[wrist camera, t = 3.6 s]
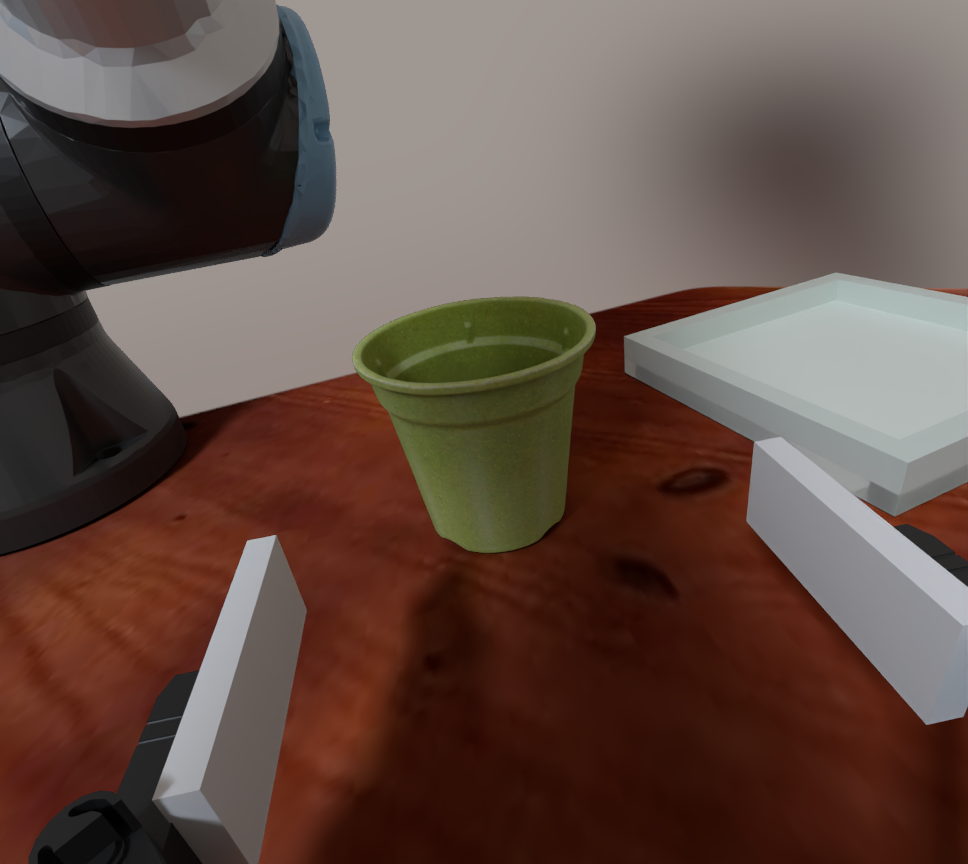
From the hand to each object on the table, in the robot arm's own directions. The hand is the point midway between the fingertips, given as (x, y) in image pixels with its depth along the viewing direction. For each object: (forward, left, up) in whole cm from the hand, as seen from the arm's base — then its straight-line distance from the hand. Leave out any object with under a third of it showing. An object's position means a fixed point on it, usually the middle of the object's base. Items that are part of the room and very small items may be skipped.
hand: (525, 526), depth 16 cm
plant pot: (-9, +2, -6) cm, 11 cm away
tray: (-9, +24, -6) cm, 26 cm away
